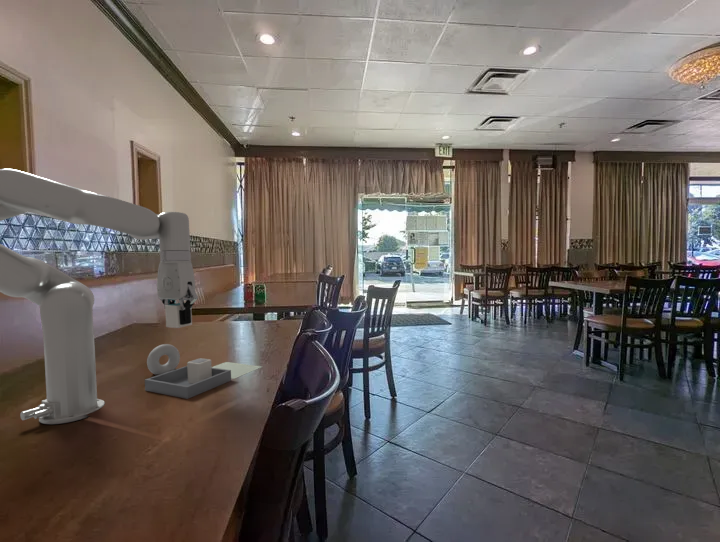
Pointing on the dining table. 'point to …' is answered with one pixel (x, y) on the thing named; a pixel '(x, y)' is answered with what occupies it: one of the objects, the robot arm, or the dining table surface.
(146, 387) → the parts bin
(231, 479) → the dining table surface
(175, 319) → the teal label box
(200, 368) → the grey label box
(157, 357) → the donut
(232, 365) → the sage board
